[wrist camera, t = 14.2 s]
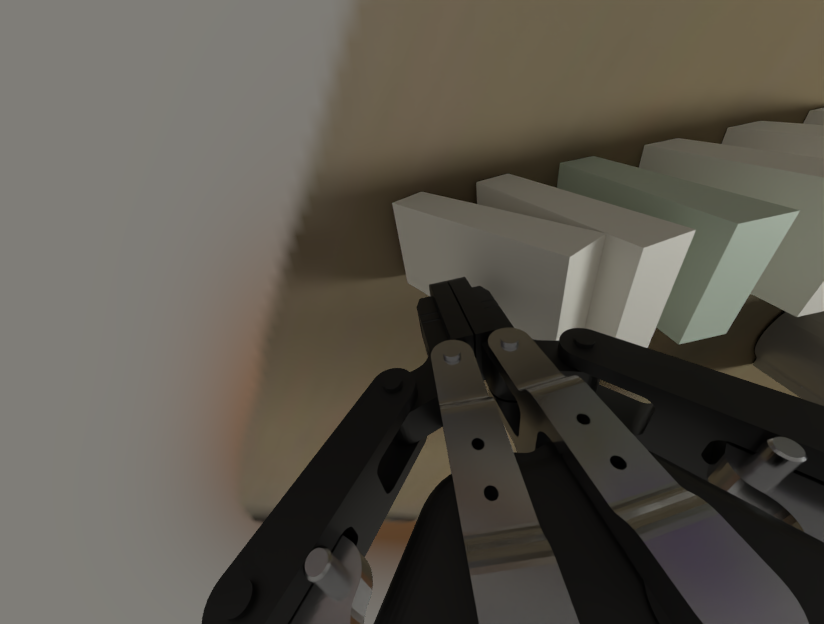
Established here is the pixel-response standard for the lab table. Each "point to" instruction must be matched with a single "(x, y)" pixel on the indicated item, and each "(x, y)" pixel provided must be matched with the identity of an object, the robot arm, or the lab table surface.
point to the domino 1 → (502, 259)
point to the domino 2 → (607, 252)
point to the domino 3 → (710, 247)
